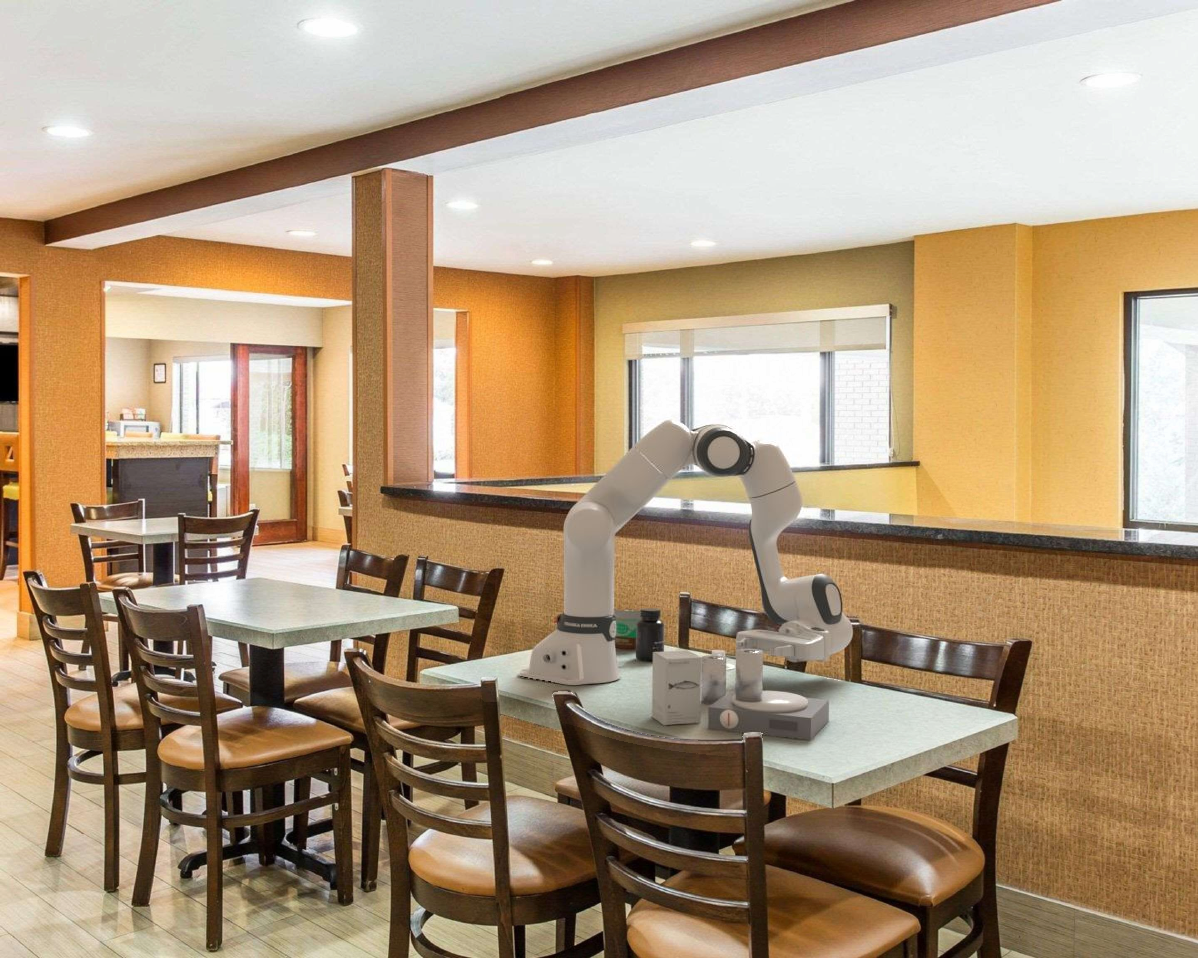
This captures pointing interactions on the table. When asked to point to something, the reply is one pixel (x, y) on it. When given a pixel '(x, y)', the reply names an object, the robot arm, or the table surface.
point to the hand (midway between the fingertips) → (755, 649)
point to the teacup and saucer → (722, 653)
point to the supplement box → (676, 687)
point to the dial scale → (770, 715)
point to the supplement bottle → (649, 634)
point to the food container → (626, 629)
